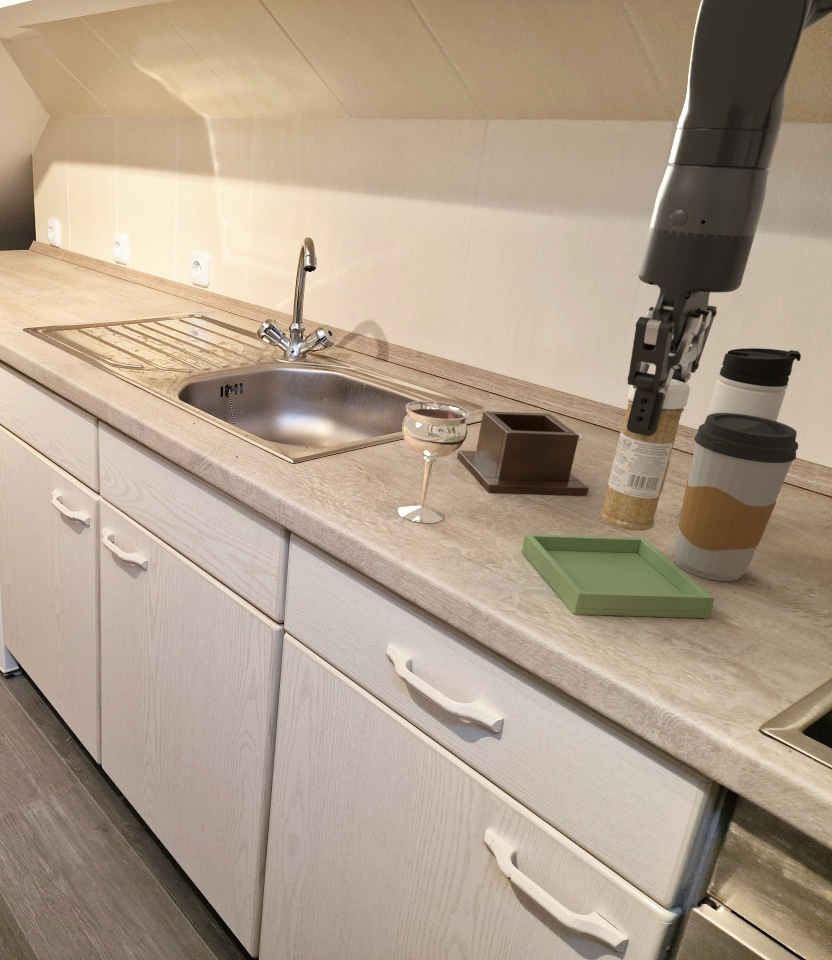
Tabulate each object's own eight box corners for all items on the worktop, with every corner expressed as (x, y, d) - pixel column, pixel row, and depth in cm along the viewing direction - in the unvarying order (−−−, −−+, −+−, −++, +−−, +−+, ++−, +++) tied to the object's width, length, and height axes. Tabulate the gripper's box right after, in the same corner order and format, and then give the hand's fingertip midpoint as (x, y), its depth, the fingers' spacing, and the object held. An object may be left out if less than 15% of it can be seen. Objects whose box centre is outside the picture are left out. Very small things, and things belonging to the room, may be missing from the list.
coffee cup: (771, 574, 84) (819, 430, 79) (732, 595, 80) (780, 444, 74) (686, 542, 90) (725, 406, 85) (645, 560, 86) (683, 418, 80)
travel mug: (746, 540, 91) (804, 358, 84) (677, 525, 94) (728, 348, 87) (744, 521, 97) (799, 347, 89) (679, 507, 99) (727, 338, 92)
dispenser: (546, 460, 113) (557, 410, 110) (587, 495, 102) (600, 440, 99) (456, 457, 112) (465, 406, 110) (488, 492, 101) (498, 436, 99)
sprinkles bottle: (654, 520, 79) (692, 380, 74) (650, 537, 76) (690, 391, 71) (601, 508, 81) (635, 371, 76) (595, 524, 78) (630, 381, 73)
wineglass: (378, 503, 96) (393, 401, 92) (431, 499, 98) (448, 399, 94) (409, 528, 90) (425, 421, 86) (464, 523, 92) (483, 418, 88)
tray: (639, 556, 87) (644, 537, 86) (708, 618, 75) (715, 597, 75) (521, 552, 86) (525, 533, 86) (573, 614, 75) (578, 593, 74)
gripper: (730, 235, 61) (670, 456, 68) (775, 228, 71) (719, 422, 78) (622, 225, 66) (576, 433, 73) (678, 219, 76) (633, 403, 82)
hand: (650, 426), depth 75 cm, fingers closed on sprinkles bottle, 4 cm apart
